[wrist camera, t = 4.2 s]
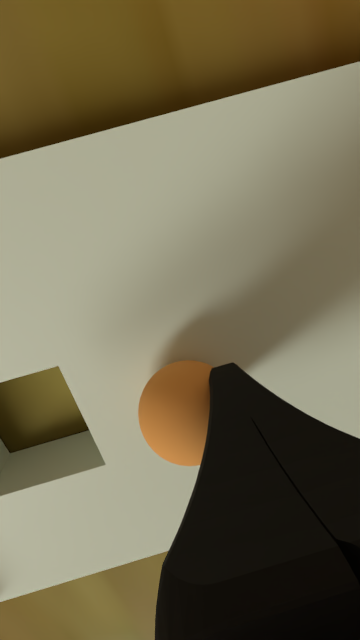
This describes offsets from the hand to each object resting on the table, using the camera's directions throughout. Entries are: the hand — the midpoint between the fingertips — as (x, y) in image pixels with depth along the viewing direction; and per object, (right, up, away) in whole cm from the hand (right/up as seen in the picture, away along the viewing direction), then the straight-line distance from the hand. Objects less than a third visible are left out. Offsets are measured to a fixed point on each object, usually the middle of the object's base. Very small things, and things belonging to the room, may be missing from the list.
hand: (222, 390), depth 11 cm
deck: (-3, 0, +4) cm, 5 cm away
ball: (-1, -1, 0) cm, 1 cm away
